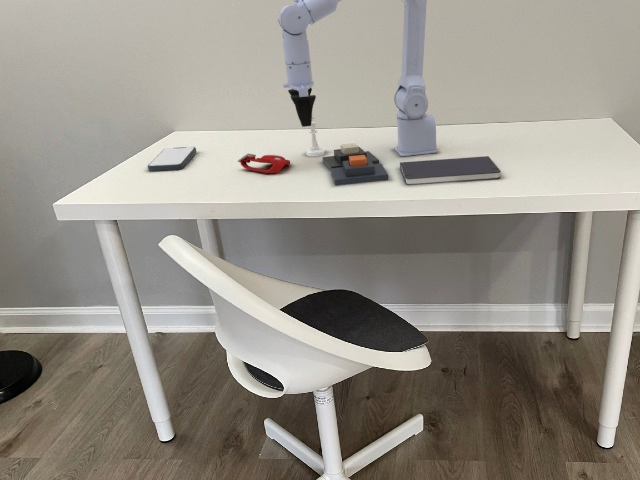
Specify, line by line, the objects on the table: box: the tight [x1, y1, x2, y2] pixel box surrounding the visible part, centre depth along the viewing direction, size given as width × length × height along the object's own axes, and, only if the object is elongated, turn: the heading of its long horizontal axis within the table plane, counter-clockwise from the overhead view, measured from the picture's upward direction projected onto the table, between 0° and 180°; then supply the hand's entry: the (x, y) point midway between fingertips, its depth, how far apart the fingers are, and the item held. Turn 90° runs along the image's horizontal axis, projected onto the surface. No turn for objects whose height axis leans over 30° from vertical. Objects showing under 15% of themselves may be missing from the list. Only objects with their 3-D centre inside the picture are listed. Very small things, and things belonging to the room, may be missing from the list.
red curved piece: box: [237, 153, 291, 174], centre depth 150 cm, size 12×4×10 cm
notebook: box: [399, 155, 501, 186], centre depth 142 cm, size 13×2×21 cm
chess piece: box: [305, 114, 326, 157], centre depth 160 cm, size 5×5×10 cm
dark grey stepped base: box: [321, 146, 380, 172], centre depth 152 cm, size 12×9×3 cm
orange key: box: [349, 155, 367, 167], centre depth 141 cm, size 4×4×2 cm
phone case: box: [147, 146, 197, 172], centre depth 161 cm, size 9×2×16 cm
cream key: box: [339, 142, 360, 154], centre depth 151 cm, size 4×4×2 cm
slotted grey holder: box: [330, 159, 389, 186], centre depth 142 cm, size 12×9×3 cm
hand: (304, 122), depth 149 cm, fingers open, 7 cm apart
